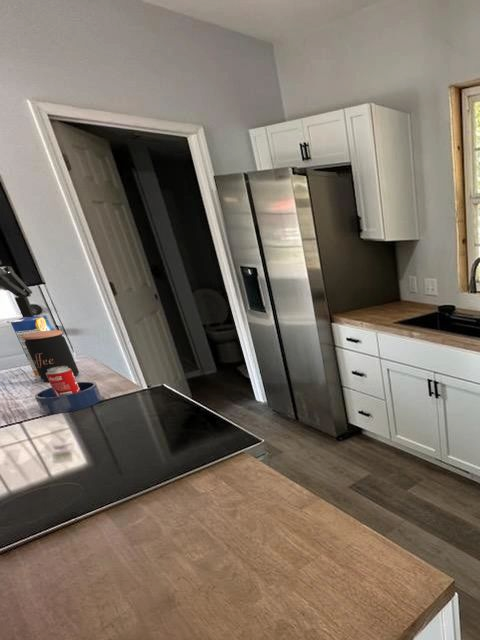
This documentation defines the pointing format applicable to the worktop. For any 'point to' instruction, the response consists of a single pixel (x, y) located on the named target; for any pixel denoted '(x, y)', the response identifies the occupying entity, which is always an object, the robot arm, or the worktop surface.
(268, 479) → the worktop surface
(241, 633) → the worktop surface
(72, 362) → the coffee jar
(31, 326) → the beverage box
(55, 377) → the beverage can
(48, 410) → the blue bowl
